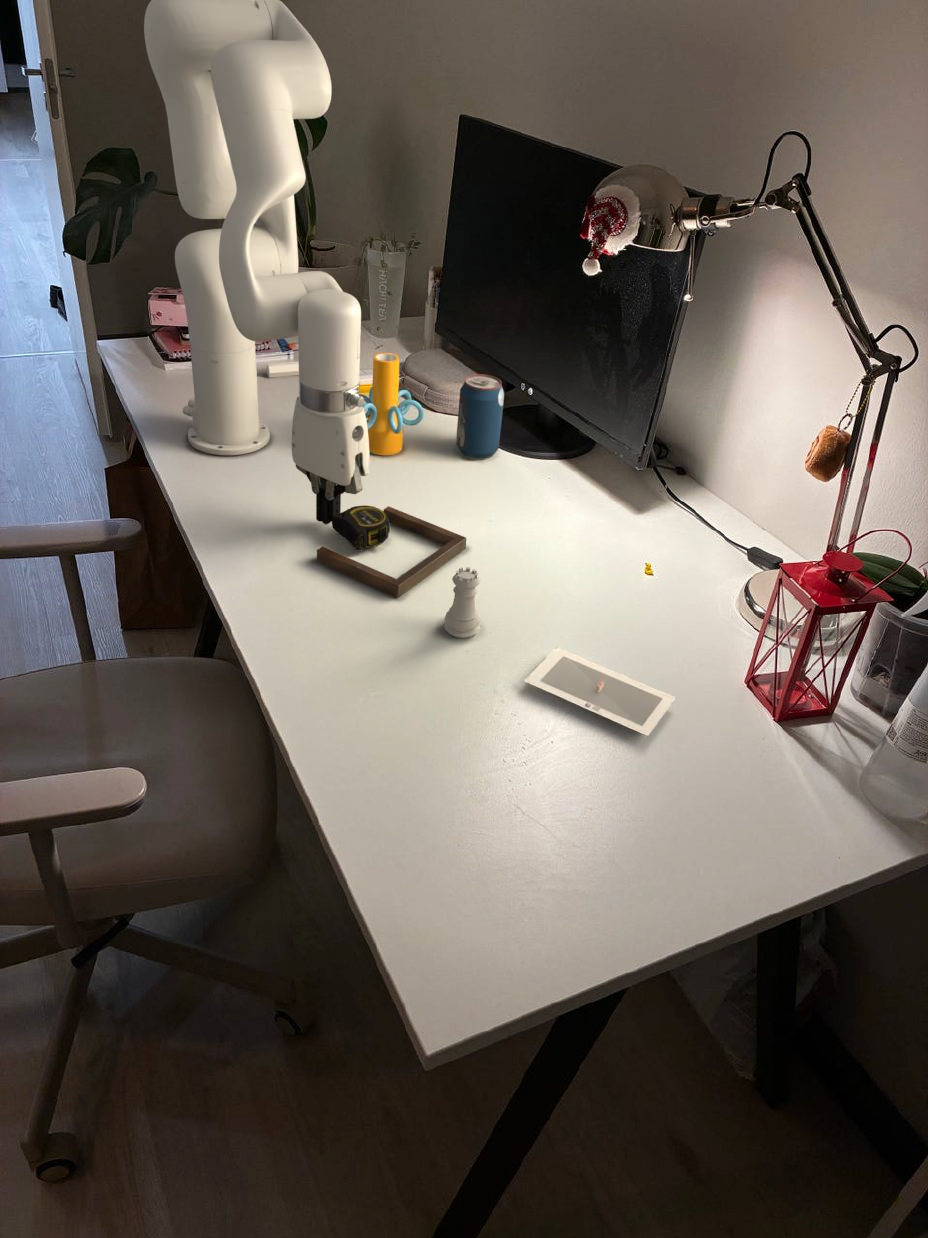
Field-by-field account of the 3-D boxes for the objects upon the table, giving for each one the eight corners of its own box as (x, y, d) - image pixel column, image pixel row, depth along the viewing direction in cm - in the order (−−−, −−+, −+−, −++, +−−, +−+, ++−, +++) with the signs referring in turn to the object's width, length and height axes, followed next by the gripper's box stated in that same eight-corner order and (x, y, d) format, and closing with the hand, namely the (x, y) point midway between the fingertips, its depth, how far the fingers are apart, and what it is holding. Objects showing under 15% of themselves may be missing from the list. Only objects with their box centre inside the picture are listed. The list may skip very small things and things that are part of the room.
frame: (316, 561, 126) (316, 549, 125) (388, 517, 137) (388, 506, 136) (397, 598, 121) (398, 586, 120) (465, 548, 131) (466, 537, 130)
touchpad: (555, 654, 114) (557, 639, 112) (674, 705, 108) (677, 690, 106) (522, 688, 108) (524, 673, 107) (646, 743, 102) (649, 728, 101)
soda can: (506, 451, 157) (513, 380, 150) (483, 465, 152) (490, 393, 145) (470, 438, 160) (476, 368, 153) (447, 452, 155) (452, 381, 148)
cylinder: (425, 438, 159) (430, 349, 150) (416, 466, 150) (421, 374, 142) (352, 430, 159) (353, 341, 151) (339, 457, 151) (339, 364, 142)
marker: (353, 373, 181) (268, 379, 175) (350, 364, 182) (265, 370, 176) (355, 364, 179) (269, 370, 173) (352, 355, 180) (267, 360, 174)
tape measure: (329, 534, 132) (329, 510, 130) (373, 522, 135) (373, 499, 133) (354, 558, 128) (354, 533, 125) (398, 545, 131) (399, 521, 129)
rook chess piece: (485, 623, 118) (491, 568, 113) (473, 643, 114) (479, 587, 109) (450, 614, 119) (455, 559, 114) (437, 634, 115) (442, 577, 110)
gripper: (394, 402, 121) (388, 527, 132) (304, 368, 127) (305, 490, 138) (356, 420, 116) (352, 549, 127) (264, 384, 122) (268, 510, 133)
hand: (328, 518), depth 133 cm, fingers closed
